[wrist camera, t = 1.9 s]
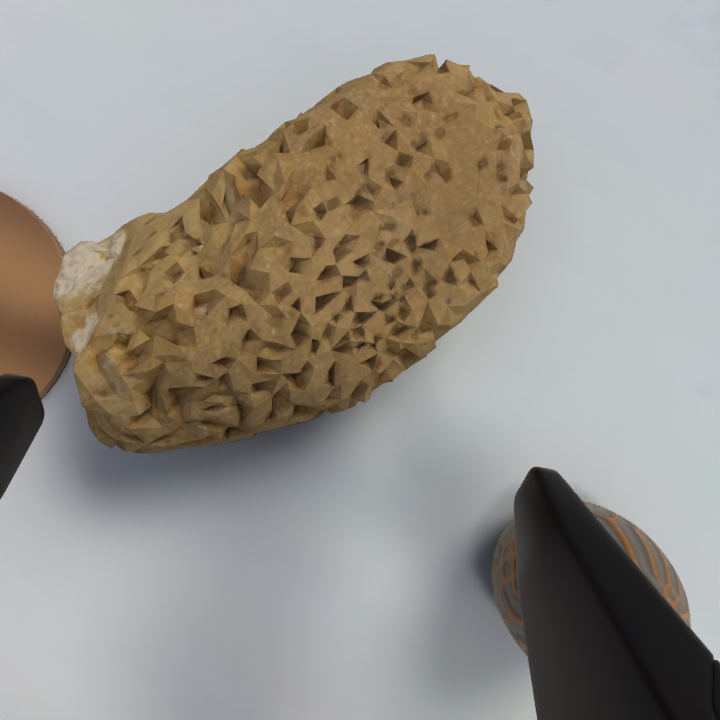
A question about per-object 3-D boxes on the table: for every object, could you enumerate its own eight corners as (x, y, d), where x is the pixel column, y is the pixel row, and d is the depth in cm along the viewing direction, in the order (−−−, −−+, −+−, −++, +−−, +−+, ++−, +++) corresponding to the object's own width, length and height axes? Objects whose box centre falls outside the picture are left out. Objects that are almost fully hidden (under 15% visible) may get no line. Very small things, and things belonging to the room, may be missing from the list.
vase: (545, 653, 24) (661, 825, 15) (445, 555, 24) (505, 672, 15) (643, 552, 24) (814, 664, 15) (545, 454, 24) (661, 510, 15)
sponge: (181, 463, 25) (591, 351, 21) (51, 483, 17) (659, 314, 13) (136, 224, 27) (500, 87, 23) (4, 148, 19) (514, -75, 16)
